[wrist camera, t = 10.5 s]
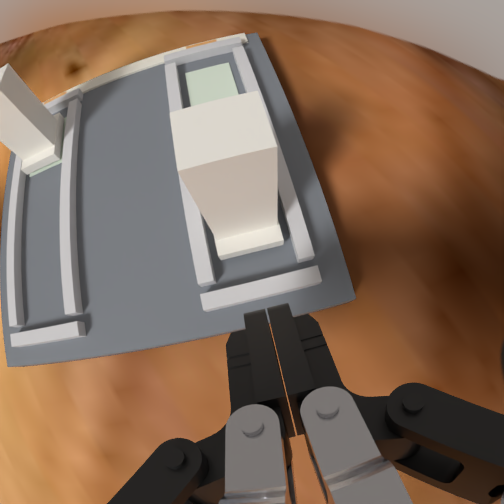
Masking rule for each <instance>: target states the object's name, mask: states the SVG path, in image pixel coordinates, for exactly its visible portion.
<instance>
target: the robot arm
mask: <svg viewBox="0 0 504 504" xmlns="http://www.w3.org/2000/svg"><path fill="white" fill-rule="evenodd" d="M267 311H268V315H269V319H270V324H271V328H272V332H273V336H274V340H275V345H276V349H277V353H278V357H279V361H280V366H281V370H282V374H283V378H284V382H285V387H286V391H287V395H288V399H289V403H290V407H291V411H292V415H293V419H294V423H295V427H296V431H297V435H302V434H304V435H305V439H306V443H307V447H308V451H309V456H310V459H311V462H312V465H313V468H314V470H315V473H316V476H317V479H318V482H319V484H320V487H321V490H322V493H323V496H324V499H325V501H326V504H413V503H412V501H411V499H410V497H409V495H408V493H407V491H406V489H405V487H404V485H403V483H402V480H401V478H400V476H399V474H398V472H397V471H396V469H397V470H399V471H401V472H404V473H406V474H408V475H410V476H412V477H414V478H416V479H419V480H421V481H423V482H425V483H428V484H430V485H432V486H435V487H437V488H439V489H442V490H444V491H447V492H449V493H451V494H454V495H456V496H459V497H462V498H464V499H467V500H469V501H472V502H475V503H478V504H504V415H503V414H500V413H497V412H494V411H491V410H489V409H486V408H483V407H481V406H478V405H475V404H473V403H470V402H467V401H465V400H462V399H459V398H457V397H454V396H452V395H449V394H447V393H444V392H442V391H439V390H436V389H434V388H431V387H429V386H427V385H424V384H421V383H407V384H403V385H401V386H399V387H398V388H396V389H395V390H394V391H393V392H392V393H391V394H390V396H379V397H364V396H359V395H356V394H354V393H352V392H351V391H349V390H348V389H347V388H346V387H345V386H344V385H343V383H342V381H341V379H340V376H339V373H338V371H337V368H336V366H335V363H334V361H333V358H332V356H331V353H330V351H329V348H328V346H327V343H326V341H325V338H324V336H323V334H322V331H321V329H320V326H319V324H318V322H317V321H316V320H315V319H313V318H312V317H311V316H310V315H309V314H304V315H300V316H296V317H293V316H292V312H291V309H290V306H289V304H288V303H284V304H280V305H276V306H272V307H268V308H267ZM244 322H245V329H244V330H239V331H235V332H231V334H230V337H229V339H228V341H227V344H226V352H227V365H228V378H229V390H230V402H231V414H230V417H229V419H228V421H227V423H226V425H225V426H224V427H223V428H222V429H221V430H220V431H218V432H217V433H216V434H214V435H212V436H210V437H207V438H205V439H203V440H201V441H198V442H196V443H194V442H192V441H190V440H188V439H184V438H175V439H170V440H168V441H166V442H164V443H162V444H161V445H160V446H159V447H158V448H157V449H156V450H155V451H154V452H153V453H152V455H151V456H150V457H149V458H148V459H147V460H146V461H145V463H144V464H143V465H142V466H141V467H140V468H139V469H138V470H137V472H136V473H135V474H134V475H133V476H132V477H131V478H130V479H129V480H128V482H127V483H126V484H125V485H124V486H123V487H122V488H121V489H120V490H119V491H118V493H117V494H116V495H115V496H114V497H113V498H112V499H111V500H110V501H109V502H108V503H107V504H297V496H296V487H295V479H294V471H293V462H292V450H291V445H290V440H289V438H290V437H294V436H295V431H294V427H293V423H292V419H291V414H290V410H289V406H288V402H287V397H286V393H285V389H284V384H283V380H282V376H281V372H280V367H279V363H278V359H277V355H276V350H275V346H274V342H273V338H272V334H271V330H270V326H269V323H268V319H267V315H266V311H265V309H261V310H256V311H252V312H248V313H244Z"/></svg>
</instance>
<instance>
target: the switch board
mask: <svg viewBox="0 0 504 504" xmlns="http://www.w3.org/2000/svg"><path fill="white" fill-rule="evenodd" d="M253 91H258V93H259V95H260V98H261V101H262V104H263V107H264V109H265V112H266V115H267V118H268V121H269V124H270V126H271V129H272V132H273V135H274V138H275V141H276V144H277V175H278V203H277V218H278V221H279V225H280V229H281V232H282V236H283V239H284V243H283V245H281V246H277V247H273V248H269V249H265V250H261V251H256V252H252V253H248V254H244V255H240V256H236V257H232V258H228V259H224V260H220V258H219V257H218V254H217V249H216V244H215V239H214V234H213V233H212V231H211V229H210V228H209V226H208V224H207V222H206V221H205V219H204V217H203V215H202V214H201V212H200V210H199V208H198V207H197V205H196V203H195V201H194V200H193V198H192V196H191V194H190V193H189V191H188V189H187V187H186V186H185V184H184V182H183V180H182V178H181V177H180V175H179V173H178V171H177V165H176V158H175V151H174V144H173V136H172V129H171V121H170V112H174V111H177V110H180V109H184V108H187V107H191V106H195V105H198V104H202V103H206V102H210V101H214V100H218V99H222V98H226V97H230V96H235V95H239V94H244V93H248V92H253ZM42 104H43V105H44V106H45V107H46V108H47V109H48V111H49V112H50V113H51V114H52V115H55V114H57V113H59V112H60V114H61V115H62V116H63V117H64V125H63V133H62V142H61V152H60V160H57V161H55V162H53V163H51V164H49V165H46V166H44V167H42V168H40V169H38V170H36V171H34V172H32V173H30V174H28V175H27V174H26V173H24V172H23V171H22V170H21V167H22V159H21V158H20V157H18V156H17V155H16V154H15V153H14V152H13V151H11V155H10V161H9V167H8V173H7V180H6V187H5V195H4V204H3V215H2V228H1V248H0V291H1V311H2V324H3V335H4V344H5V352H6V359H7V366H8V367H25V366H34V365H44V364H52V363H61V362H68V361H76V360H83V359H90V358H97V357H104V356H111V355H117V354H123V353H129V352H135V351H141V350H147V349H152V348H158V347H163V346H168V345H174V344H179V343H184V342H189V341H194V340H199V339H204V338H208V337H213V336H218V335H222V334H227V333H231V332H235V331H239V330H244V329H245V322H244V313H248V312H252V311H256V310H261V309H265V311H266V315H267V319H268V323H269V324H270V319H269V315H268V311H267V308H268V307H272V306H276V305H280V304H284V303H288V304H289V306H290V309H291V312H292V316H293V317H296V316H300V315H304V314H309V313H312V312H316V311H320V310H323V309H327V308H331V307H334V306H338V305H341V304H345V303H348V302H351V301H353V300H354V299H356V296H355V293H354V289H353V286H352V282H351V279H350V275H349V272H348V269H347V265H346V262H345V259H344V255H343V252H342V249H341V246H340V243H339V239H338V236H337V233H336V230H335V227H334V224H333V221H332V218H331V215H330V212H329V209H328V206H327V203H326V200H325V197H324V194H323V192H322V189H321V186H320V183H319V180H318V177H317V175H316V172H315V169H314V167H313V164H312V161H311V158H310V156H309V153H308V151H307V148H306V145H305V143H304V140H303V138H302V135H301V132H300V130H299V127H298V125H297V122H296V120H295V117H294V115H293V113H292V110H291V108H290V105H289V103H288V101H287V98H286V96H285V93H284V91H283V89H282V86H281V84H280V82H279V80H278V77H277V75H276V73H275V70H274V68H273V66H272V64H271V62H270V59H269V57H268V55H267V53H266V51H265V49H264V46H263V44H262V42H261V40H260V38H259V36H258V34H257V33H252V34H246V35H245V33H242V34H237V35H232V36H227V37H222V38H218V39H213V40H209V41H205V42H201V43H197V44H193V45H189V46H185V47H182V48H178V49H175V50H171V51H168V52H165V53H161V54H158V55H155V56H152V57H149V58H146V59H143V60H140V61H137V62H134V63H132V64H129V65H126V66H123V67H121V68H118V69H116V70H113V71H110V72H108V73H105V74H103V75H101V76H98V77H96V78H93V79H91V80H89V81H87V82H84V83H82V84H80V85H78V86H75V87H73V88H71V89H69V90H67V91H65V92H63V93H61V94H59V95H57V96H55V97H53V98H51V99H49V100H47V101H45V102H43V103H42Z"/></svg>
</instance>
